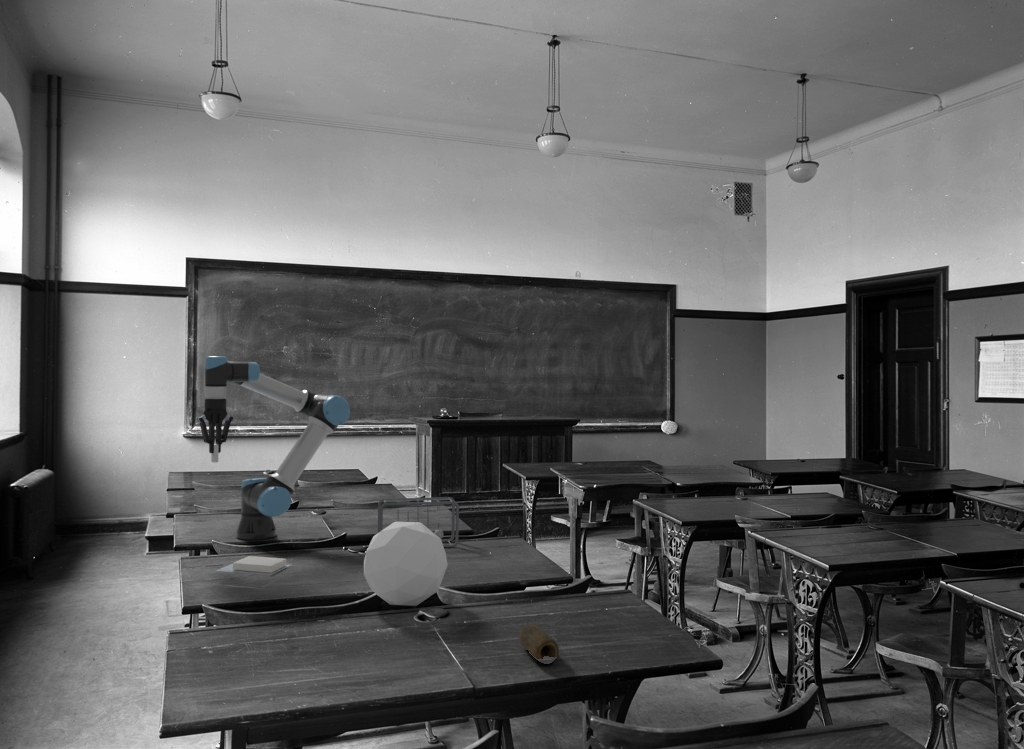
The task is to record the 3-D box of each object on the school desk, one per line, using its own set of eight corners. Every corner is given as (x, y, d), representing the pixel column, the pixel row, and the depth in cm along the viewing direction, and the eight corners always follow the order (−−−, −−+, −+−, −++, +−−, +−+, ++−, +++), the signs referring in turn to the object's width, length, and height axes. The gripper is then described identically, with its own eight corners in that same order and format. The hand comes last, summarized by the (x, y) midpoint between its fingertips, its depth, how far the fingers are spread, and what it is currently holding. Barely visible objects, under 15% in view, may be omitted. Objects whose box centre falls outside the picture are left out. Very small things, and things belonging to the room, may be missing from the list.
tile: (232, 562, 264) (271, 565, 261) (249, 555, 274) (286, 558, 271) (232, 570, 264) (271, 573, 261) (249, 563, 274) (286, 566, 271)
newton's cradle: (454, 541, 315) (454, 496, 315) (458, 547, 305) (459, 501, 304) (377, 544, 308) (377, 498, 308) (379, 550, 298) (379, 503, 297)
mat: (215, 571, 264) (215, 570, 264) (238, 561, 277) (238, 560, 277) (270, 576, 259) (270, 575, 259) (291, 566, 273) (291, 564, 273)
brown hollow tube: (564, 666, 187) (564, 637, 187) (536, 669, 185) (537, 640, 185) (539, 644, 201) (540, 618, 201) (513, 647, 199) (514, 620, 199)
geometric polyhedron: (398, 624, 240) (410, 547, 255) (459, 610, 226) (468, 529, 241) (338, 599, 226) (354, 518, 241) (399, 582, 212) (412, 498, 227)
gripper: (228, 397, 301) (227, 459, 301) (193, 397, 292) (193, 462, 292) (237, 398, 295) (236, 461, 296) (201, 398, 286) (201, 464, 287)
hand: (214, 461), depth 294 cm, fingers closed
